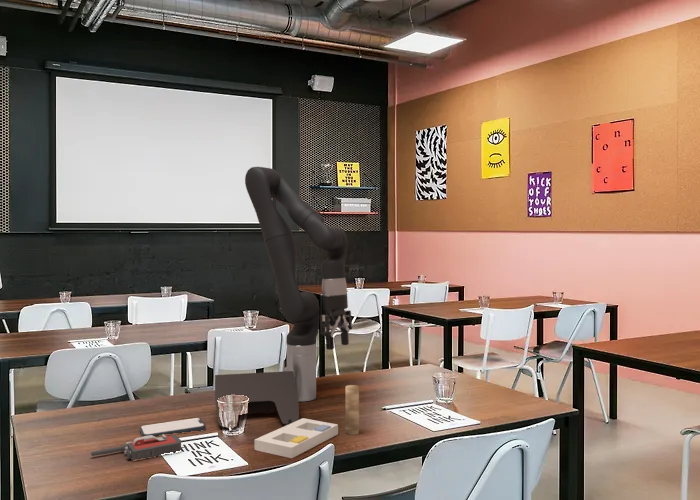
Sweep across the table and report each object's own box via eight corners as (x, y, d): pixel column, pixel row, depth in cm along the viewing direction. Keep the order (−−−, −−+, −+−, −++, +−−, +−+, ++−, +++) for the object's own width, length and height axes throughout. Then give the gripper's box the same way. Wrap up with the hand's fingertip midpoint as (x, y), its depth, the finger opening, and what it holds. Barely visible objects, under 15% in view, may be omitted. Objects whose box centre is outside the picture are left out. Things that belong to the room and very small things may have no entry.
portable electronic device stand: (215, 451, 165) (215, 425, 161) (214, 393, 185) (214, 369, 180) (302, 445, 170) (304, 419, 166) (291, 389, 190) (293, 365, 185)
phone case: (143, 441, 157) (206, 431, 163) (142, 435, 157) (206, 425, 163) (139, 431, 165) (199, 422, 171) (138, 425, 165) (199, 416, 171)
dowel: (343, 433, 161) (342, 387, 160) (350, 429, 164) (349, 384, 163) (354, 435, 159) (354, 388, 159) (361, 431, 162) (361, 386, 162)
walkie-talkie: (176, 442, 155) (90, 458, 144) (175, 425, 155) (89, 439, 144) (187, 453, 148) (97, 470, 137) (186, 434, 147) (97, 450, 137)
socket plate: (291, 458, 143) (291, 445, 143) (254, 449, 149) (254, 437, 149) (338, 434, 160) (338, 423, 160) (302, 427, 166) (302, 416, 166)
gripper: (336, 291, 196) (339, 343, 196) (311, 295, 184) (314, 350, 184) (357, 291, 192) (360, 343, 192) (332, 295, 180) (336, 351, 180)
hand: (337, 347), depth 188 cm, fingers open, 8 cm apart
